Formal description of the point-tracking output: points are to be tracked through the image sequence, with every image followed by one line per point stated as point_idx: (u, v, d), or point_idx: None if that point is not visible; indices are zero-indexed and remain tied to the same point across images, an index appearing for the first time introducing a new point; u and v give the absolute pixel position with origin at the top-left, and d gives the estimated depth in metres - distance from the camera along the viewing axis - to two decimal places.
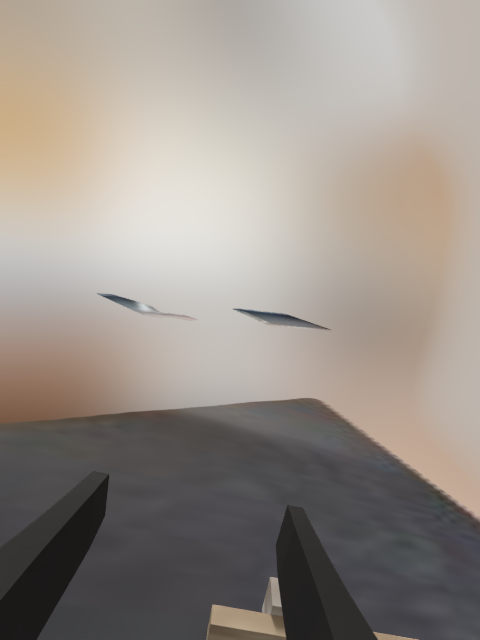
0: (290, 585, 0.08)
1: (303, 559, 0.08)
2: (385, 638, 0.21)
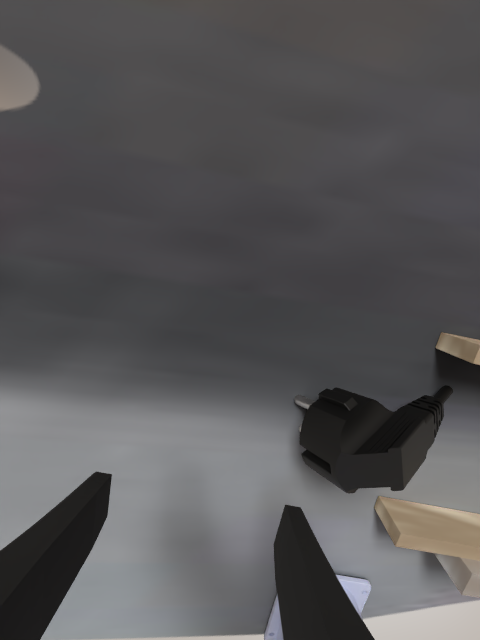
0: (287, 585, 0.08)
1: (300, 558, 0.08)
2: None
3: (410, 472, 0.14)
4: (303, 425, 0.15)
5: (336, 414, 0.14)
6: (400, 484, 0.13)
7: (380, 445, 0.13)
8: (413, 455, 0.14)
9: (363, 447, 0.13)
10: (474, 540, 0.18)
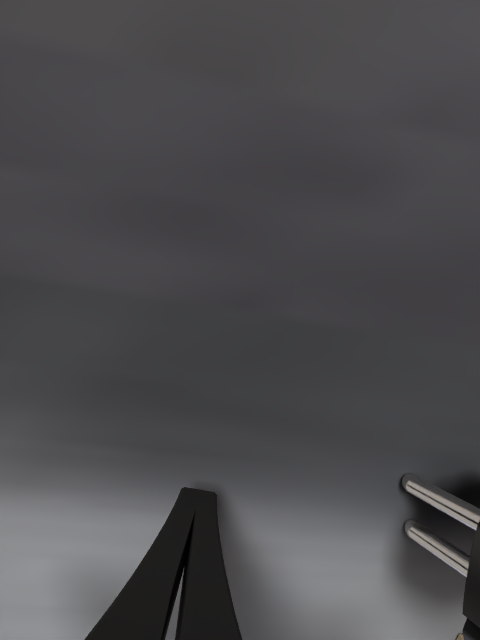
0: (186, 568, 0.08)
1: (192, 540, 0.08)
2: None
3: None
4: (472, 576, 0.07)
5: None
6: None
7: None
8: None
9: None
10: None
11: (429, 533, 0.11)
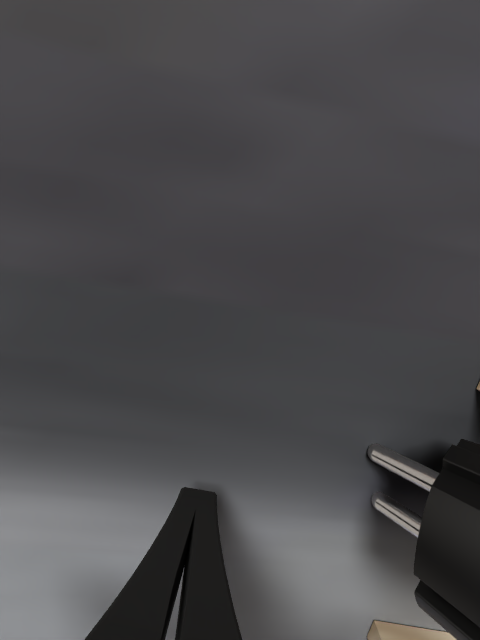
0: (186, 568, 0.08)
1: (192, 541, 0.08)
2: None
3: None
4: (424, 534, 0.07)
5: None
6: None
7: None
8: None
9: None
10: None
11: (395, 503, 0.10)
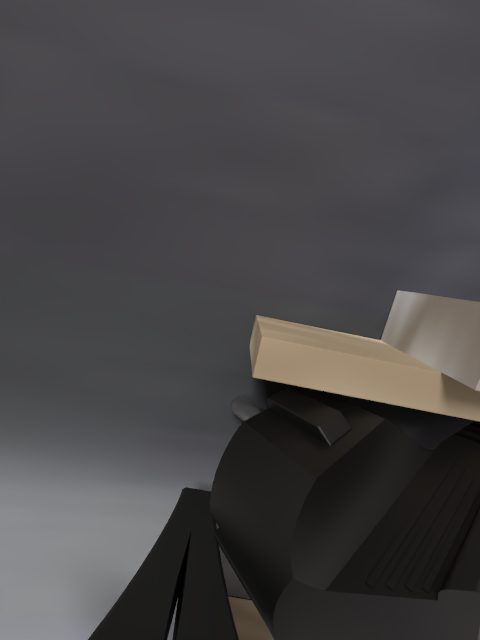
0: (183, 567, 0.08)
1: (190, 540, 0.08)
2: None
3: None
4: (220, 468, 0.07)
5: (296, 452, 0.06)
6: None
7: (409, 560, 0.05)
8: None
9: (358, 561, 0.05)
10: None
11: None
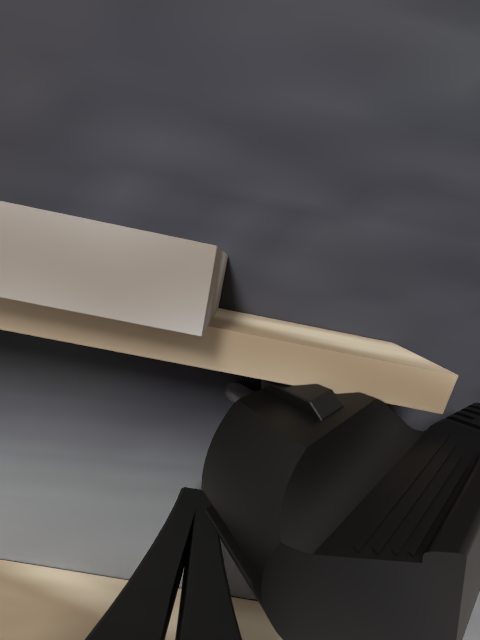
0: (186, 568, 0.08)
1: (192, 540, 0.08)
2: (346, 363, 0.07)
3: (470, 607, 0.05)
4: (213, 445, 0.07)
5: (288, 426, 0.06)
6: None
7: (396, 527, 0.05)
8: None
9: (346, 529, 0.05)
10: None
11: None
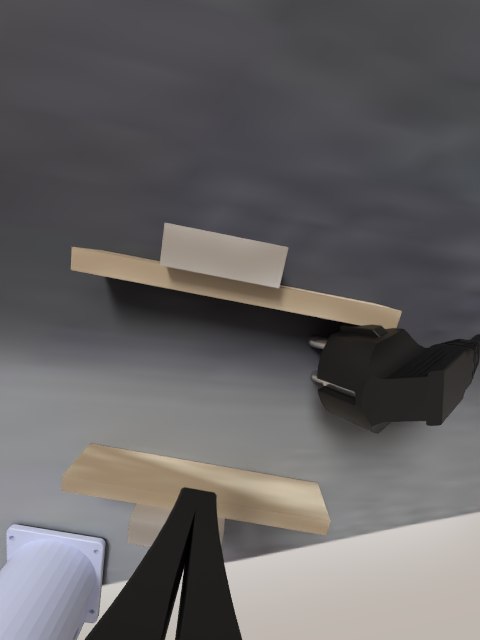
0: (186, 568, 0.08)
1: (192, 540, 0.08)
2: (345, 305, 0.13)
3: (449, 407, 0.12)
4: (322, 356, 0.13)
5: (364, 339, 0.12)
6: (438, 417, 0.11)
7: (417, 371, 0.11)
8: (453, 388, 0.12)
9: (396, 373, 0.11)
10: (157, 485, 0.17)
11: None
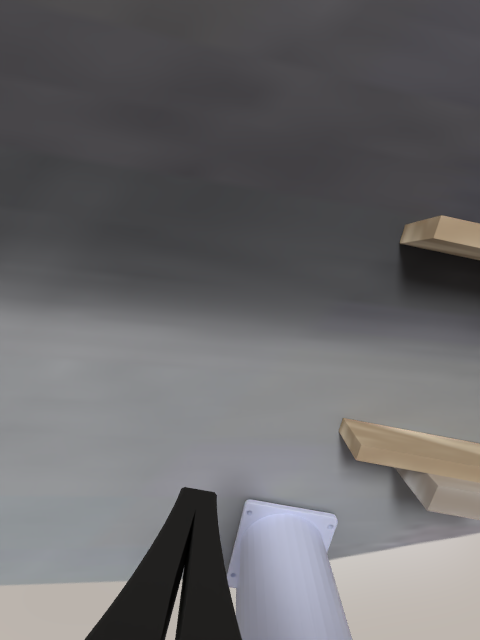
0: (186, 568, 0.08)
1: (192, 540, 0.08)
2: None
3: None
4: None
5: None
6: None
7: None
8: None
9: None
10: (443, 456, 0.17)
11: None
